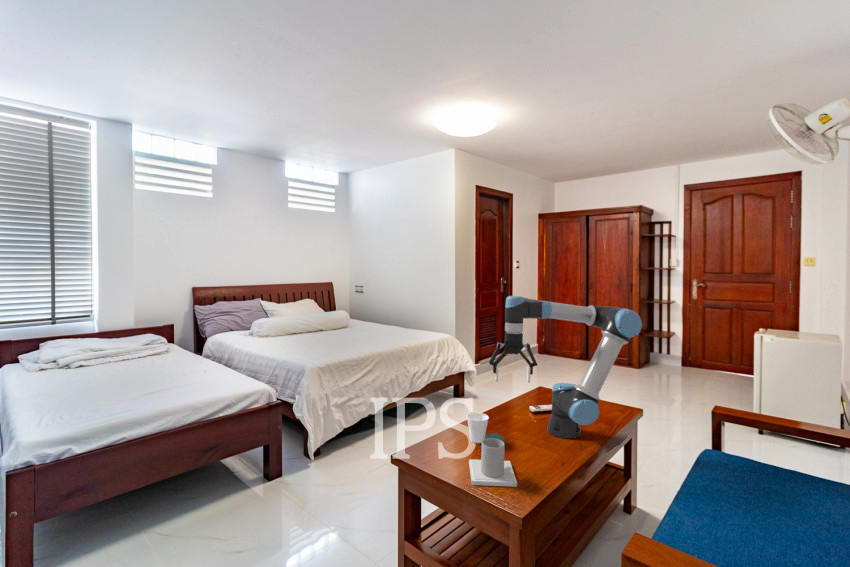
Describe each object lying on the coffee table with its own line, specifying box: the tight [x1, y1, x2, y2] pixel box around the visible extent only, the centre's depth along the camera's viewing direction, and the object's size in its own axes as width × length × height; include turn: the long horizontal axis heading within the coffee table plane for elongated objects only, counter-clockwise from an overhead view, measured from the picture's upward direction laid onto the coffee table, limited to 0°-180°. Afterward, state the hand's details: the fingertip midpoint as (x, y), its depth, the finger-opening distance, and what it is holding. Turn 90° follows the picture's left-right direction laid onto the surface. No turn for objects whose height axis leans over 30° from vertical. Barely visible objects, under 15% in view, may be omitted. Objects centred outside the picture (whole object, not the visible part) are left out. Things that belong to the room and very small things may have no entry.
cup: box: [466, 412, 490, 444], centre depth 181 cm, size 10×10×11 cm
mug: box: [480, 437, 506, 478], centre depth 152 cm, size 12×8×11 cm
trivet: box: [468, 459, 518, 488], centre depth 153 cm, size 16×16×2 cm
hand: (512, 381), depth 175 cm, fingers open, 13 cm apart
